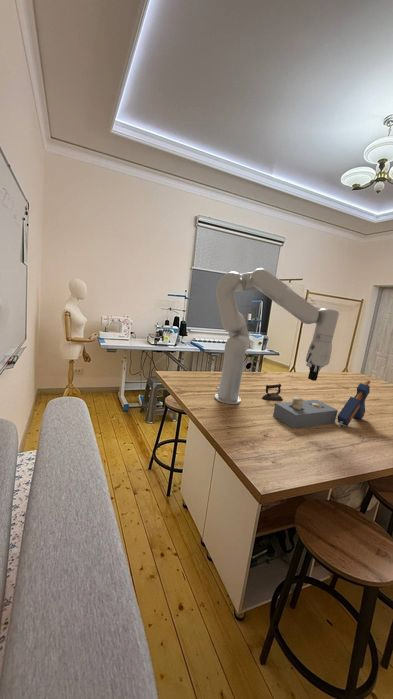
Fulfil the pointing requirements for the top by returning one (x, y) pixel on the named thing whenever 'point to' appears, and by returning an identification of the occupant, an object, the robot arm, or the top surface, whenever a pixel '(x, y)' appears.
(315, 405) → the dowel
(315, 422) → the block
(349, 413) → the glue gun
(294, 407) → the dowel
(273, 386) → the clothes iron
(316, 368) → the robot arm
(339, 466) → the top surface
